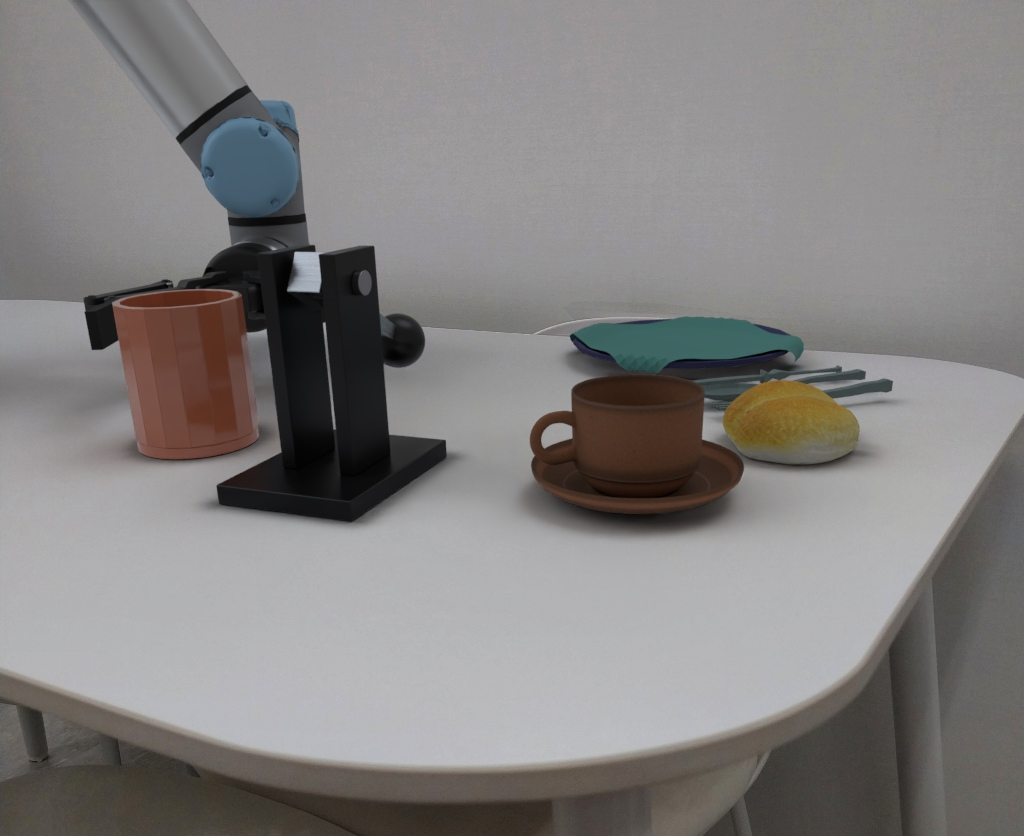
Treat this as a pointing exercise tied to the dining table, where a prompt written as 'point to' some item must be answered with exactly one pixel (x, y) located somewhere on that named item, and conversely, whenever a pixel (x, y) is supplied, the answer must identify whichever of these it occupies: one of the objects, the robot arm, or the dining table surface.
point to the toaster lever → (397, 330)
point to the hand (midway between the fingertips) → (191, 327)
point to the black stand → (328, 397)
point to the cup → (187, 372)
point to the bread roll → (790, 424)
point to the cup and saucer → (634, 448)
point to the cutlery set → (710, 353)
